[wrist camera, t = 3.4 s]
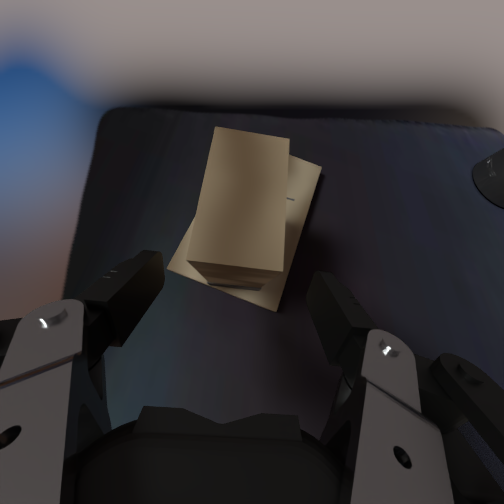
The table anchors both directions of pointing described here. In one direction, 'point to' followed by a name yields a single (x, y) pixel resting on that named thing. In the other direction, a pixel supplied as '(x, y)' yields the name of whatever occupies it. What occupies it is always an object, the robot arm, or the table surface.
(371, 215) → the table surface
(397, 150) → the table surface
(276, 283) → the board
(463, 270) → the table surface
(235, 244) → the block
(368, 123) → the table surface
